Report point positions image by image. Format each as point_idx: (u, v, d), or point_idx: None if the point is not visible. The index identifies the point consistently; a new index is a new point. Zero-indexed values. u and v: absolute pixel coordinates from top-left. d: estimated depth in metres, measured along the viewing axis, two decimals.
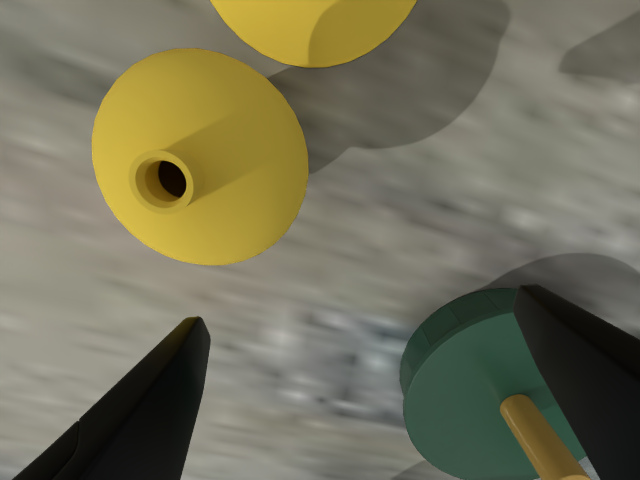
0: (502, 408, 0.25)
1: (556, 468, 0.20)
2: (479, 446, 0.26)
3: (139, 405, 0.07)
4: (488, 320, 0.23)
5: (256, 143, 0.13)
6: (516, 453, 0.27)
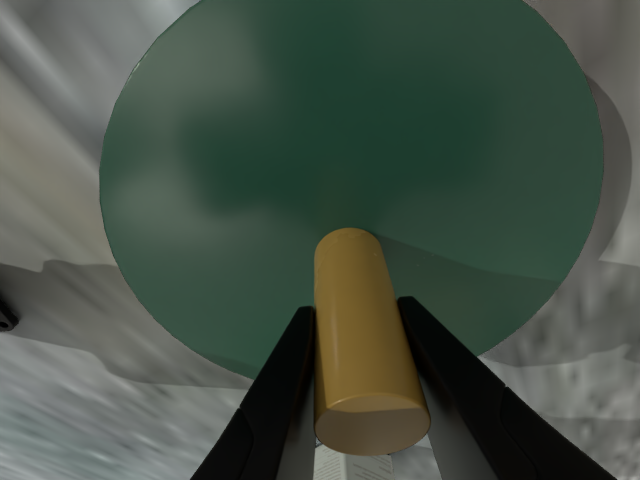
0: (328, 238, 0.11)
1: (381, 368, 0.07)
2: (228, 282, 0.12)
3: (297, 392, 0.07)
4: None
5: None
6: (274, 332, 0.14)
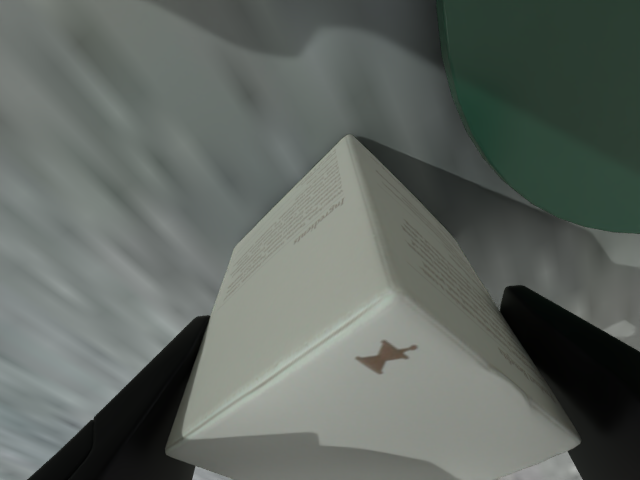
0: None
1: None
2: None
3: (153, 404, 0.07)
4: None
5: None
6: (626, 92, 0.09)
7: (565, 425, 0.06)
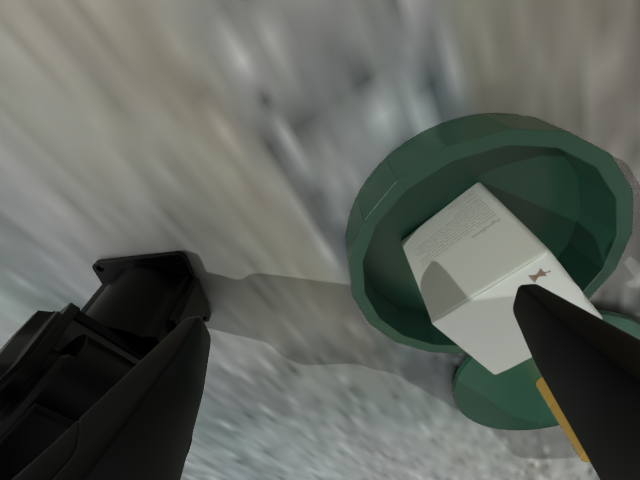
0: None
1: None
2: (496, 389, 0.30)
3: (139, 405, 0.07)
4: (630, 322, 0.26)
5: None
6: (503, 406, 0.32)
7: (596, 310, 0.16)
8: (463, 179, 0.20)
